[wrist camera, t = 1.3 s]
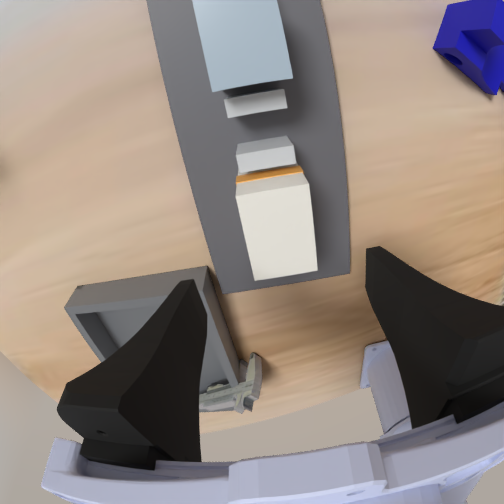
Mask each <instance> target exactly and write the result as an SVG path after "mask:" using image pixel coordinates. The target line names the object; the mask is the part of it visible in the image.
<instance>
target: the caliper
mask: <svg viewBox="0 0 504 504" xmlns="http://www.w3.org/2000/svg"><path fill="white" fill-rule="evenodd" d="M247 365H248V369H247ZM246 373H247V374H246ZM239 378H240V383H239V385H237V386H235V387H233V388H231V386H230V384H229V382H228V384H225V385H224V384H220V383H217V384H215V385H213V386H212V385H210V386H208V387H207V391H206V393H202V394H199V409H201V410H202V409H206V410H209V411H213V410H218V409H223V408H228V407H233V406H234V410H235V411H237V412H239V413H241V414H242V413H243V412H244V410H245V409H247V410H249V411H251V412H252V407H253V402H254V401H255V400H258V399H259V394H260V389H261V384H262V362H261V358H260V357H259V356H257V355H256V354H254V353H251V354H250V360H249V364H248V363H247V362H245V361H244V360H242V359H240V360H239Z"/></svg>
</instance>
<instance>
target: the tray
mask: <svg viewBox="0 0 504 504" xmlns="http://www.w3.org/2000/svg"><path fill="white" fill-rule="evenodd" d="M189 279H194V281H195V283H196V286H197V289H198V291H199V294H200V297H201V299H202V302H203V304H204V307H205V309H206V312H207V314H208V316H207V339H206V346H205V352H204V359H203V365H202V371H201V378H200V388H199V394H202V393H206V391H207V387H208V386H210V385H212V386H213V385H215V384H217V383H220V384H224V385H225V384H228V382H229V384H230V386H231V388H233V387H235V386H237V385H239V383H240V378H239V359H238V356H237V353H236V350H235V347H234V344H233V342H232V339H231V336H230V333H229V330H228V327H227V324H226V321H225V318H224V315H223V313H222V310H221V307H220V304H219V301H218V298H217V295H216V291H215V288H214V285H213V282H212V279H211V276H210V273H209V270H208V267H207V266H203V267H197V268H190V269H184V270H178V271H172V272H165V273H159V274H153V275H146V276H140V277H134V278H127V279H121V280H115V281H108V282H102V283H95V284H89V285H82V286H77V288H76V289H75V291H74V292H73V294H72V296H71V297H70V299H69V300H68V302H67V304H66V305H65V307H64V308H65V310H66V312H67V313H68V315H69V316H70V318H71V320H72V321H73V323H74V324H75V326H76V327H77V329H78V330H79V332H80V333H81V335H82V336H83V338H84V339H85V340H86V342H87V343H88V345H89V346H90V347H91V349H92V350H93V352H94V353H95V354H96V356H97V357H98V358H99V360H100V361H101V362H103V361H104V360H106V359H107V358H108V357H110V356H111V355H112V354H113V353H115V352H116V351H117V350H118V349H119V348H121V347H122V346H123V345H124V344H125V343H126V342H128V341H129V340H130V339H131V338H132V337H133V336H134V335H135V334H136V333H137V332H138V331H139V330H140V329H141V328H142V327H143V325H144V324H145V323H146V322H147V321H148V320H149V319H150V317H151V316H152V315H153V314H154V313H155V312H156V310H157V309H158V308H159V307H160V305H161V304H162V303H163V302H164V300H165V299H166V298H167V297H168V295H169V294H170V293H171V291H172V290H173V289H174V288H175V286H176V285H177V284H178V283H179V282H180V281H183V280H189ZM233 410H234V406H233V407H228V408H223V409H218V410H213V411H209V410H206V409H202V410H201V409H199V412H217V411H233Z"/></svg>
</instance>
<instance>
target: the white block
mask: <svg viewBox="0 0 504 504" xmlns="http://www.w3.org/2000/svg"><path fill="white" fill-rule="evenodd" d="M236 186H237V187H236V201H237V205H238V210H239V214H240V218H241V223H242V227H243V232H244V236H245V241H246V245H247V249H248V254H249V258H250V263H251V267H252V271H253V276H254V280H255V281H257V280H263V279H269V278H275V277H282V276H288V275H294V274H300V273H306V272H312V271H317V270H318V269H317V256H316V245H315V234H314V224H313V214H312V205H311V196H310V188H309V183H308V181H307V179H306V178H305V176H304V173H303V170H302V168H301V167H300V165H299V166H298V164H297V162H296V164H290V165H284V166H278V167H272V168H266V169H260V170H254V171H249V172H243V173H240V172H239V168H238V176H236Z"/></svg>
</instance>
